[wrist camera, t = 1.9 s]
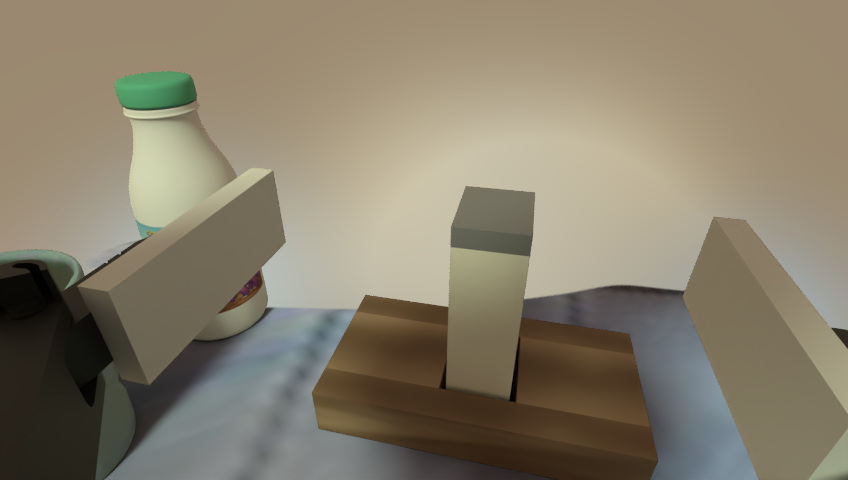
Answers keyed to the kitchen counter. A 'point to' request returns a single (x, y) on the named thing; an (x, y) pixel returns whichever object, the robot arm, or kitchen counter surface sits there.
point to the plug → (487, 289)
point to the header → (487, 417)
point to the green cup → (116, 400)
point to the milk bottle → (179, 175)
